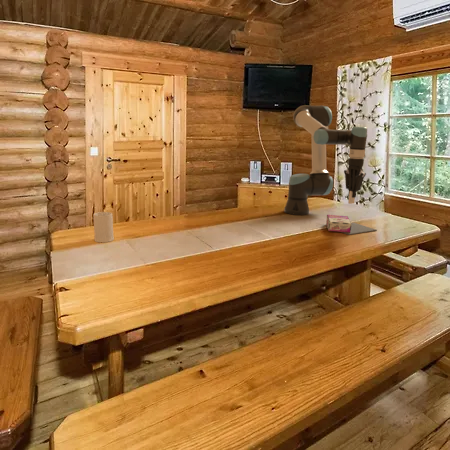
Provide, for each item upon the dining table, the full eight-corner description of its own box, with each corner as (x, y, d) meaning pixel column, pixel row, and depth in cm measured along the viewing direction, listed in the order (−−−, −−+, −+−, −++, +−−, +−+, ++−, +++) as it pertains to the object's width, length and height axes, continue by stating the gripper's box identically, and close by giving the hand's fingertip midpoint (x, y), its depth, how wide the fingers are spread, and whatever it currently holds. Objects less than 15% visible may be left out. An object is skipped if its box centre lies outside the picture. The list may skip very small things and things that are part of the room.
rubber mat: (326, 227, 210) (326, 226, 210) (353, 223, 220) (353, 222, 220) (348, 235, 197) (348, 233, 197) (376, 230, 206) (376, 229, 206)
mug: (92, 236, 183) (91, 210, 180) (111, 234, 186) (110, 209, 183) (95, 243, 172) (93, 216, 169) (115, 241, 176) (114, 215, 173)
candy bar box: (325, 223, 216) (327, 231, 201) (326, 214, 215) (328, 221, 199) (346, 225, 214) (350, 232, 199) (348, 216, 213) (351, 223, 198)
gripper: (341, 156, 204) (336, 201, 210) (360, 159, 193) (355, 206, 199) (352, 156, 208) (347, 200, 214) (371, 159, 197) (365, 205, 203)
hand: (351, 203), depth 207 cm, fingers closed
